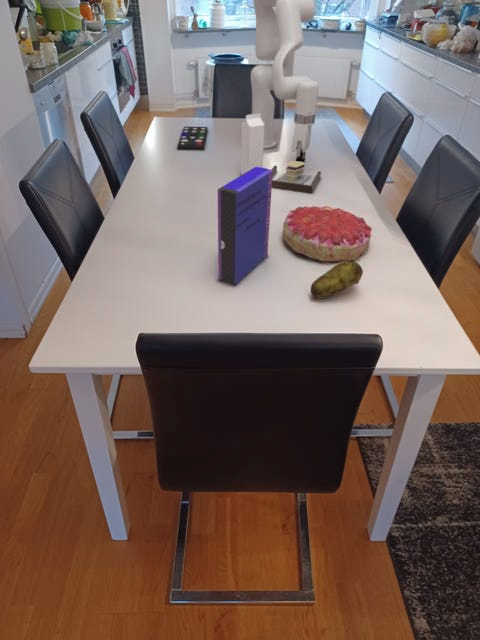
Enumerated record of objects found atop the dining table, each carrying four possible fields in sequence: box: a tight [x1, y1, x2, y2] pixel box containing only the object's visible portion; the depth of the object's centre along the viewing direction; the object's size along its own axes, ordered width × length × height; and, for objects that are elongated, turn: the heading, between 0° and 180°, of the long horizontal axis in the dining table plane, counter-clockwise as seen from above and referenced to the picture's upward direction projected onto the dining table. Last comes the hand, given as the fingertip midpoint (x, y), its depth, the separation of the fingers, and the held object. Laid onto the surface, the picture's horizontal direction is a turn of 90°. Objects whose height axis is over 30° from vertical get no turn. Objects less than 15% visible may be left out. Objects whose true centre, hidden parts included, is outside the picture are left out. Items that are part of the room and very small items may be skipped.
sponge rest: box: [270, 165, 322, 194], centre depth 170 cm, size 16×18×2 cm
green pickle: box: [310, 260, 364, 299], centre depth 111 cm, size 8×13×8 cm, turn 96°
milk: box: [240, 113, 264, 176], centre depth 168 cm, size 6×6×22 cm
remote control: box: [177, 126, 209, 151], centre depth 210 cm, size 11×30×2 cm, turn 0°
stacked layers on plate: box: [277, 160, 311, 184], centre depth 172 cm, size 10×9×6 cm
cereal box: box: [217, 167, 273, 286], centre depth 115 cm, size 17×5×24 cm, turn 150°
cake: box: [281, 205, 373, 262], centre depth 132 cm, size 25×25×8 cm
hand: (299, 168), depth 180 cm, fingers closed
